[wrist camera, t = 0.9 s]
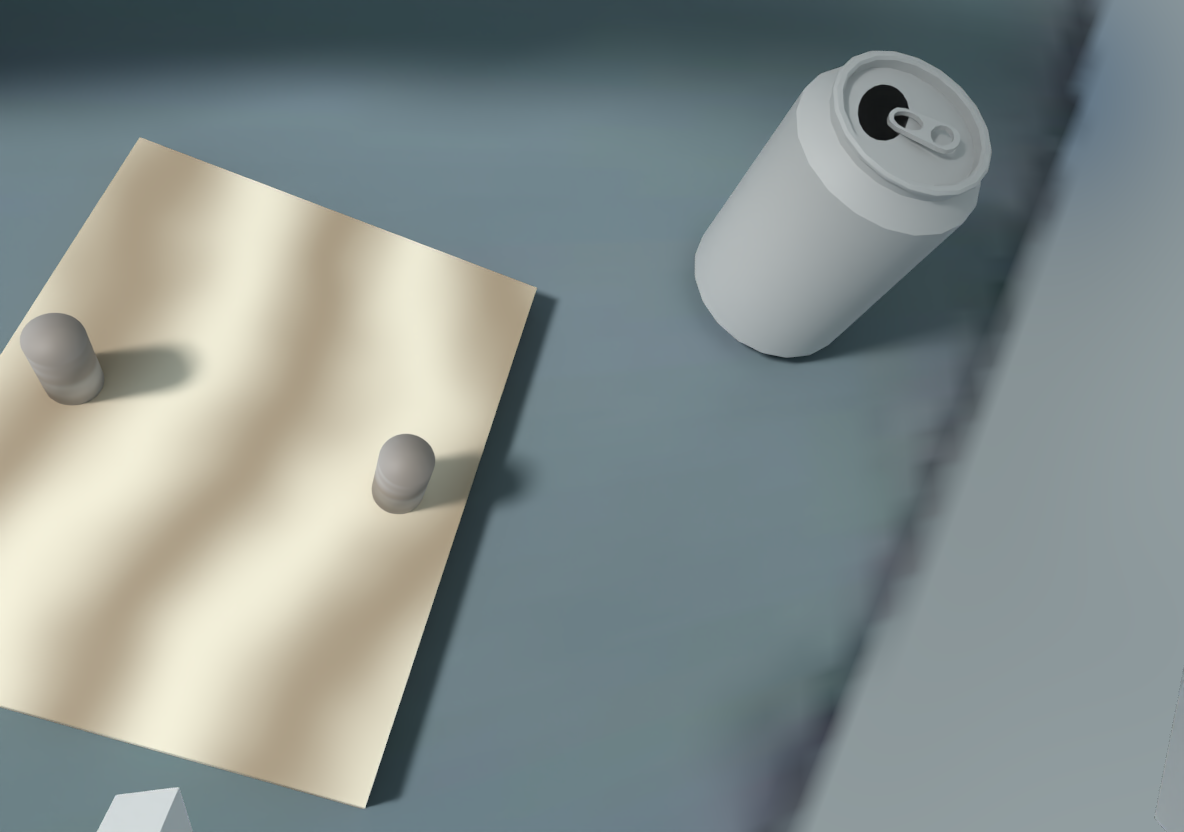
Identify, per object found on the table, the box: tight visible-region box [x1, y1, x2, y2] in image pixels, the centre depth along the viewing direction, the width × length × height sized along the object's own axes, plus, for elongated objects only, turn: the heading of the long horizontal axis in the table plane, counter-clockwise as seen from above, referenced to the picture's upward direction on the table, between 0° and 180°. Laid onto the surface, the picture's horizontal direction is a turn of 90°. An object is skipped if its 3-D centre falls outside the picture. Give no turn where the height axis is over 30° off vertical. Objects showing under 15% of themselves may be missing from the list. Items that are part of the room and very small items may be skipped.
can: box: [695, 51, 992, 358], centre depth 37 cm, size 8×8×12 cm
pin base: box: [0, 137, 537, 809], centre depth 31 cm, size 16×20×4 cm
